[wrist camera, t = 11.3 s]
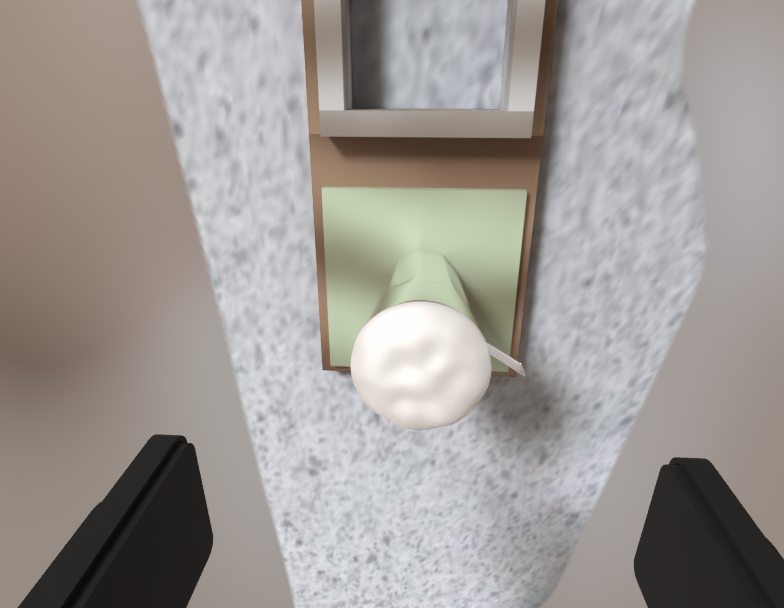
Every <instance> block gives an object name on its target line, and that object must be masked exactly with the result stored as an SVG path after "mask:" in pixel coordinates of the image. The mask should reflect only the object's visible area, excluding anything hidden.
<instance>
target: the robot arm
mask: <svg viewBox="0 0 784 608" xmlns="http://www.w3.org/2000/svg"><path fill="white" fill-rule="evenodd" d="M212 545H213V533H212V528H211V524H210V519H209V514H208V509H207V504H206V500H205V495H204V490H203V485H202V480H201V475H200V471H199V466H198V461H197V456H196V451H195V447H194V445H193V444H192V443H187V440H186V438H185V437H184V436H180V435H179V436H178V435H157V434H156V435H153V436H152V437H151V438H150V439H149V440H148V441H147V443H146V444H145V446H144V447H143V448H142V450H141V451H140V452H139V453H138V455H137V456H136V457H135V459H134V460H133V461H132V463H131V464H130V465H129V467H128V468H127V469H126V471H125V472H124V473H123V475H122V476H121V477H120V479H119V480H118V481H117V483H116V484H115V485H114V486H113V488H112V489H111V490H110V492H109V493H108V494H107V496H106V497H105V498H104V500H103V501H102V502H101V503H99V504H98V505H97V506H96V507H95V508H94V509H93V510H92V511H91V512H90V514H89V515H88V516H87V518H86V519H85V520H84V522H83V523H82V524H81V526H80V527H79V528H78V529H77V531H76V532H75V533H74V535H73V536H72V537H71V539H70V540H69V541H68V543H67V544H66V545H65V546H64V548H63V549H62V550H61V552H60V553H59V554H58V556H57V557H56V558H55V560H54V561H53V562H52V564H51V565H50V566H49V567H48V569H47V570H46V572H45V573H44V574H43V575H42V577H41V578H40V579H39V581H38V582H37V583H36V584H35V586H34V587H33V588H32V590H31V591H30V592H29V594H28V595H27V596H26V598H25V599H24V600H23V601H22V603H21V604H20V605H19V607H18V608H186V607H187V605H188V603H189V600H190V598H191V596H192V594H193V591H194V589H195V587H196V585H197V582H198V580H199V578H200V576H201V573H202V571H203V569H204V567H205V565H206V563H207V560H208V558H209V556H210V553H211V550H212ZM634 571H635V576H636V579H637V582H638V584H639V587H640V589H641V591H642V594H643V596H644V599H645V601H646V604H647V606H648V608H784V559H783V558H782V557H781V555H780V554H779V552H778V551H777V549H776V548H775V547H774V546H773V545H772V543H771V542H770V541H769V540H768V539H767V538H765V536H764V535H763V533H762V532H761V531H760V529H759V528H758V527H757V526H756V524H755V523H754V521H753V520H752V518H751V517H750V515H749V514H748V513H747V511H746V510H745V509H744V507H743V506H742V504H741V503H740V502H739V500H738V499H737V498H736V496H735V495H734V493H733V492H732V491H731V489H730V488H729V486H728V485H727V484H726V482H725V481H724V480H723V478H722V477H721V475H720V474H719V473H718V471H717V470H716V469H715V467H714V466H713V465H712V463H711V462H710V461H709V460H707V459H701V458H678V457H677V458H673V459H672V460H671V461H670V463H669V465H663V466H662V467H661V469H660V472H659V476H658V479H657V483H656V486H655V489H654V493H653V496H652V500H651V503H650V507H649V510H648V514H647V517H646V521H645V524H644V527H643V531H642V534H641V538H640V541H639V544H638V548H637V551H636V555H635V558H634Z"/></svg>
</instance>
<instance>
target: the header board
mask: <svg viewBox="0 0 784 608" xmlns="http://www.w3.org/2000/svg"><path fill="white" fill-rule="evenodd" d="M301 1H302V18H303V36H304V53H305V71H306V88H307V105H308V123H309V140H310V158H311V175H312V192H313V210H314V227H315V244H316V262H317V279H318V297H319V314H320V331H321V349H322V366H323V370H332V371H351V356H352V351H353V347H354V343H355V341H356V338H357V336H358V334H359V332H360V331H361V329H362V327H363V325H364V324H365V322H366V320H367V318H368V316H369V314H370V312H371V311H372V309H373V307H374V305H375V302H376V300H377V298H378V296H379V293H380V291H381V289H382V287H383V284H384V282H385V280H386V278H387V275H388V274H389V272H390V271H391V269H392V268H393V266H394V265H395V263H396V262H397V260H398V259H399V257H400V256H403V255H406V254H409V253H411V252H414V251H417V250H420V249H423V250H426V251H430V252H434V253H438V254H441V255H443V256H444V258H445V259H446V260H447V261H448V263H449V264H450V265H451V266H452V267H453V269H454V270H455V271H456V273H457V275H458V278H459V280H460V283H461V285H462V288H463V290H464V293H465V296H466V298H467V301H468V303H469V306H470V308H471V311H472V313H473V315H474V318H475V320H476V322H477V324H478V326H479V328H480V330H481V332H482V334H483V336H484V338H485V340H486V342H487V343H489V344H491V345H492V346H494V347H495V348H497V349H499V350H500V351H502V352H504V353H505V354H507V355H508V356H510V357H512V358H513V359H515V360H517V361H518V354H519V345H520V336H521V328H522V319H523V310H524V301H525V292H526V283H527V274H528V266H529V257H530V248H531V239H532V230H533V221H534V212H535V204H536V195H537V186H538V177H539V168H540V159H541V151H542V142H543V133H544V124H545V115H546V106H547V97H548V89H549V80H550V71H551V62H552V53H553V44H554V35H555V27H556V18H557V9H558V0H508V9H507V22H506V34H505V47H504V59H503V72H502V85H501V97H500V109H352V77H351V38H350V0H301ZM490 357H491V366H492V370H491V376H510V377H516V371H515V370H513V369H512V368H510V367H509V366H507V365H505V364H504V363H502V362H501V361H499V360H498V359H496V358H495V357H493V356H492V355H490Z"/></svg>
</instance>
